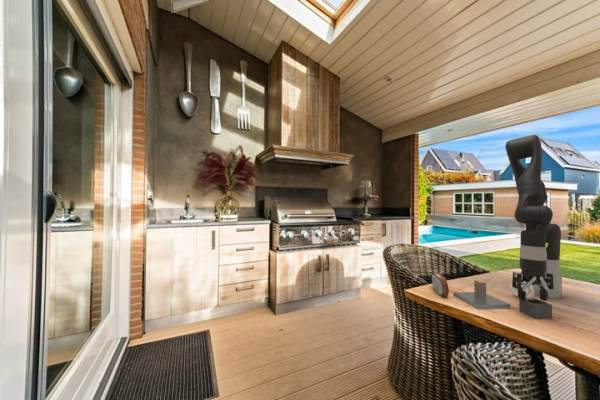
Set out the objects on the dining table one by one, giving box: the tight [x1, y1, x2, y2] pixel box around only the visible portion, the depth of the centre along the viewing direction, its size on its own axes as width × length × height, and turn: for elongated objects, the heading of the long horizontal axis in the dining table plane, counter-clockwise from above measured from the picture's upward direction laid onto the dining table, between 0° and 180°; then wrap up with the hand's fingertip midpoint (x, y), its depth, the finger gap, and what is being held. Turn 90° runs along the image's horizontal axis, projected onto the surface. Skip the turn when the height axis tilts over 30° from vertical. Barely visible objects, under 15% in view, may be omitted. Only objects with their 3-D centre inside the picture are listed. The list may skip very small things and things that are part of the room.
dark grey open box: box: [518, 297, 553, 320], centre depth 93 cm, size 6×6×5 cm
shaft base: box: [453, 279, 512, 310], centre depth 105 cm, size 14×14×9 cm
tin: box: [431, 272, 450, 297], centre depth 115 cm, size 15×3×8 cm, turn 168°
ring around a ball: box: [510, 281, 535, 298], centre depth 108 cm, size 8×6×8 cm
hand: (532, 300), depth 93 cm, fingers open, 8 cm apart
